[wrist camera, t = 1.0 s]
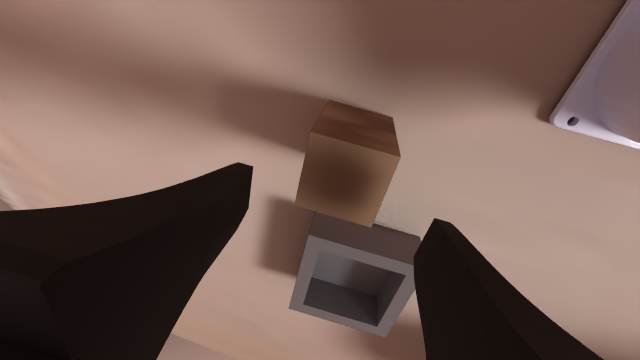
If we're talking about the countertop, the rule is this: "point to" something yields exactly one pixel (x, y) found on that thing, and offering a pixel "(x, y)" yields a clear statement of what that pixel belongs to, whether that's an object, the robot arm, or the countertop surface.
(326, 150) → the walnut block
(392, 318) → the well
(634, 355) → the countertop surface
